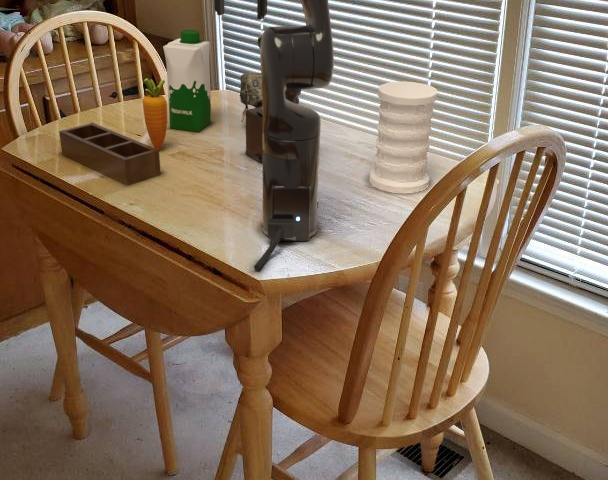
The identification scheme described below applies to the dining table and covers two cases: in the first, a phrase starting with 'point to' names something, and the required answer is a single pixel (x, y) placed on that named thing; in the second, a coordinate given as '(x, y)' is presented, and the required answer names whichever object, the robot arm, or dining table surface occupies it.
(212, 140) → the dining table surface
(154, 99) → the carrot
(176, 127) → the milk carton
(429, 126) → the decorative container
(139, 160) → the rack
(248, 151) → the manual coffee grinder
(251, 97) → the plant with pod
